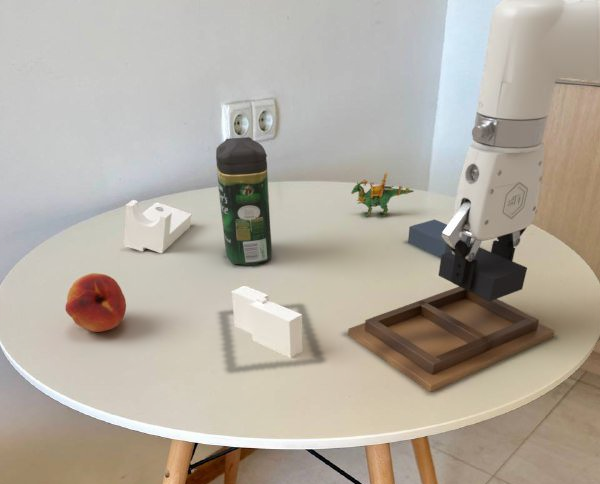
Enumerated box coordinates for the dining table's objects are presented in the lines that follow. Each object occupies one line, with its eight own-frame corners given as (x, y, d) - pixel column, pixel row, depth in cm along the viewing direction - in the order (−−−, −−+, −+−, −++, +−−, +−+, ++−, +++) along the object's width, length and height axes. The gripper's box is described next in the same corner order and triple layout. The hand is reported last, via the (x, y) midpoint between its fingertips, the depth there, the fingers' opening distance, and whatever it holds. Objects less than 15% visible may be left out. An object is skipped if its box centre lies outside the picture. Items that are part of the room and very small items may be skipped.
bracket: (161, 258, 104) (165, 218, 99) (123, 245, 104) (126, 204, 99) (189, 231, 114) (194, 193, 109) (155, 219, 114) (158, 181, 109)
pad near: (438, 275, 79) (441, 254, 77) (470, 265, 81) (473, 244, 80) (489, 301, 73) (494, 279, 71) (522, 289, 75) (527, 267, 74)
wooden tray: (347, 335, 80) (348, 318, 78) (464, 292, 89) (466, 277, 88) (430, 392, 69) (432, 375, 68) (552, 337, 79) (557, 320, 77)
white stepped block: (320, 360, 75) (321, 320, 71) (231, 370, 73) (227, 330, 70) (299, 305, 87) (298, 269, 83) (221, 313, 85) (218, 277, 82)
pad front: (407, 242, 105) (409, 226, 103) (432, 235, 108) (434, 219, 106) (443, 259, 99) (446, 242, 97) (469, 251, 102) (472, 234, 100)
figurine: (350, 212, 118) (351, 170, 113) (410, 212, 117) (415, 170, 112) (350, 218, 115) (352, 175, 110) (412, 218, 115) (416, 175, 110)
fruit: (69, 346, 79) (53, 291, 74) (75, 317, 85) (61, 265, 80) (130, 339, 80) (118, 285, 75) (131, 311, 86) (120, 259, 81)
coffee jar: (223, 246, 105) (212, 135, 94) (267, 243, 106) (261, 132, 95) (227, 269, 97) (216, 150, 86) (275, 265, 98) (269, 147, 87)
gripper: (479, 149, 60) (453, 308, 71) (585, 127, 67) (547, 273, 78) (427, 135, 65) (410, 285, 76) (532, 115, 72) (503, 255, 83)
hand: (480, 278), depth 77 cm, fingers closed on pad near, 6 cm apart
